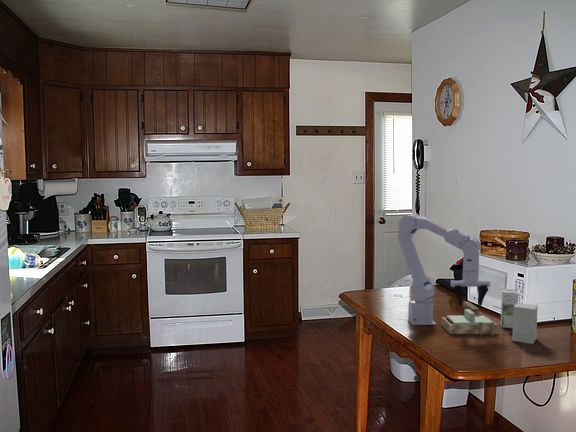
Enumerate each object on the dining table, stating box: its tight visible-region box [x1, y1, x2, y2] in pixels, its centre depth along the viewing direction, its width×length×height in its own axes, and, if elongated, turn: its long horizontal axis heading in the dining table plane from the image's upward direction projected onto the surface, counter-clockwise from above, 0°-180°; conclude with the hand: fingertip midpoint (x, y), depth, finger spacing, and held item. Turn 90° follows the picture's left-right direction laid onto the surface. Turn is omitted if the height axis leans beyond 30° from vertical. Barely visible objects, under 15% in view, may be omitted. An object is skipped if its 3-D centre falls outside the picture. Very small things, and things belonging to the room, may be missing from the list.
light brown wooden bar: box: [462, 301, 480, 315], centre depth 217 cm, size 2×12×2 cm, turn 0°
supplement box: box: [511, 302, 539, 345], centre depth 194 cm, size 7×7×13 cm
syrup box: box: [500, 288, 519, 330], centre depth 209 cm, size 6×6×14 cm
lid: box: [446, 308, 493, 325], centre depth 206 cm, size 14×10×4 cm, turn 90°
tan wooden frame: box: [441, 312, 499, 336], centre depth 206 cm, size 18×13×5 cm
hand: (469, 305), depth 205 cm, fingers open, 7 cm apart
